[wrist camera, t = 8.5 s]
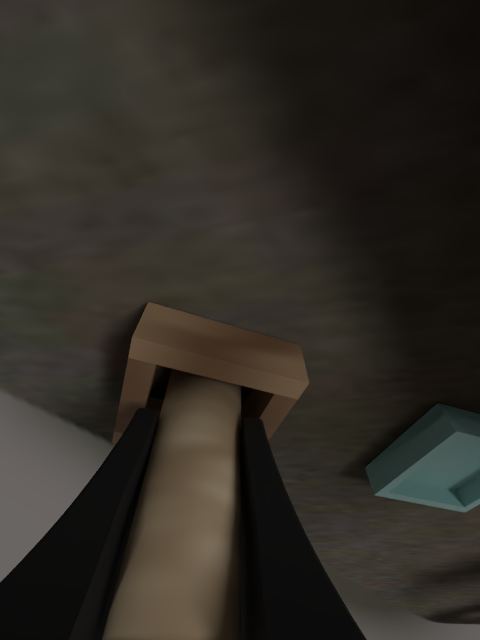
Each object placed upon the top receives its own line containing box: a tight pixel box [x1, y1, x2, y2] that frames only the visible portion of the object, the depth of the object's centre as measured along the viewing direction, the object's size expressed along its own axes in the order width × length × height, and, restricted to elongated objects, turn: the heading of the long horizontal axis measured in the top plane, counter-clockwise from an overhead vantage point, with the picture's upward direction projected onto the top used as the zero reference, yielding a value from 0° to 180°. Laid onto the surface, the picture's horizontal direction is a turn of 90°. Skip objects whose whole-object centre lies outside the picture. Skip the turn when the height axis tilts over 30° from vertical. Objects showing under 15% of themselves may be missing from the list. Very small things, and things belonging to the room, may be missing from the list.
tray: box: [365, 403, 480, 512], centre depth 16 cm, size 6×6×2 cm
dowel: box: [102, 369, 241, 640], centre depth 10 cm, size 3×3×8 cm
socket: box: [112, 302, 309, 444], centre depth 12 cm, size 6×6×2 cm
